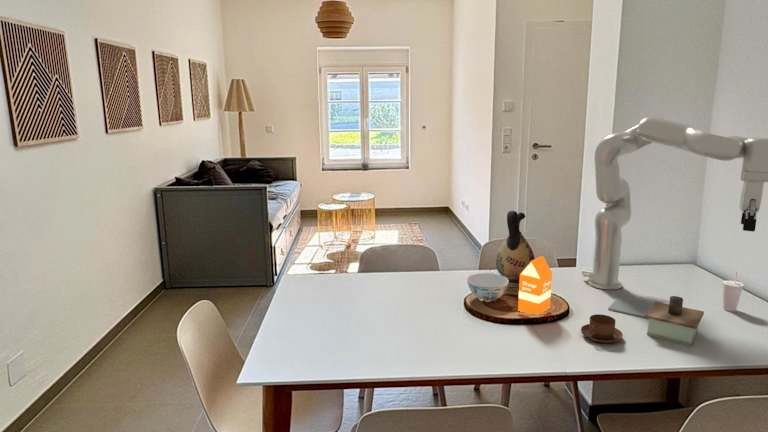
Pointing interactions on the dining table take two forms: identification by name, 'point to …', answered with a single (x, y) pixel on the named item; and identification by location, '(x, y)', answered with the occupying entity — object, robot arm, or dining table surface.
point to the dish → (671, 332)
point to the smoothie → (731, 294)
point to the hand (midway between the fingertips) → (747, 227)
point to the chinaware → (487, 285)
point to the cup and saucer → (602, 329)
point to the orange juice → (535, 287)
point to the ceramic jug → (514, 251)
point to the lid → (675, 313)
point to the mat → (631, 306)
